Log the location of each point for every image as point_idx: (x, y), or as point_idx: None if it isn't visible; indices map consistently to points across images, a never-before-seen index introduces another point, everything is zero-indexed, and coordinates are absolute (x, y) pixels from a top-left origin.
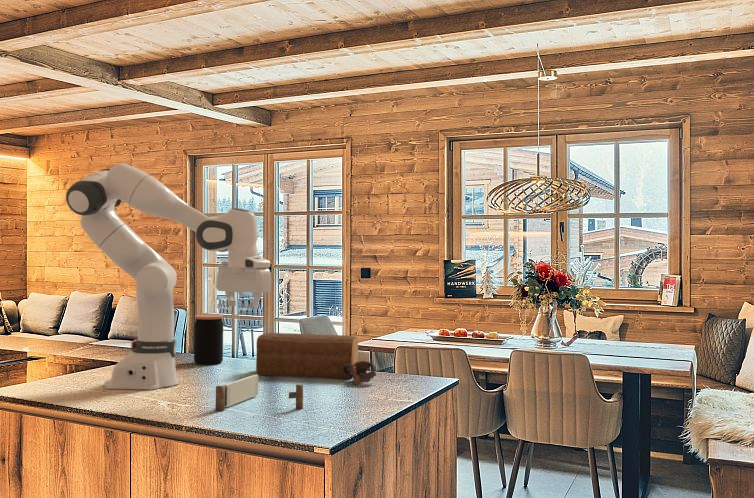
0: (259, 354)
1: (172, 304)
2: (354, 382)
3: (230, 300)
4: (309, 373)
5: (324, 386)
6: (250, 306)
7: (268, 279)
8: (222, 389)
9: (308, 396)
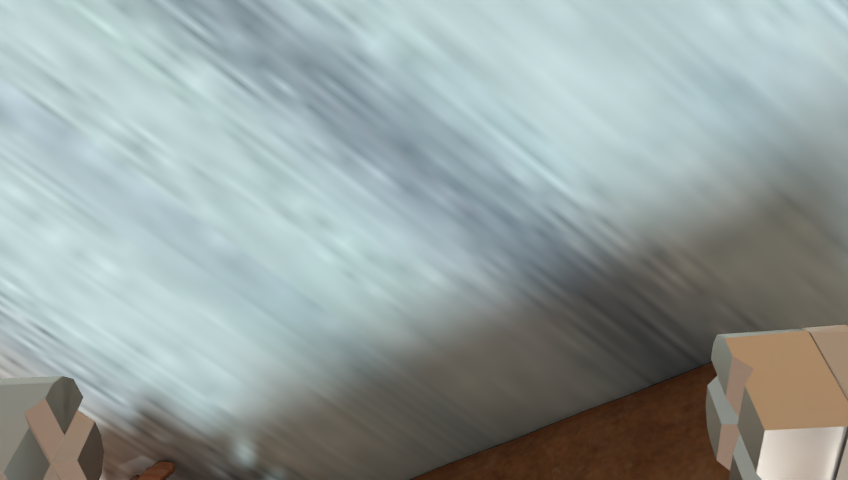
0: None
1: None
2: (165, 467)
3: (846, 455)
4: (478, 466)
5: (235, 359)
6: (48, 385)
7: None
8: None
9: (47, 139)
